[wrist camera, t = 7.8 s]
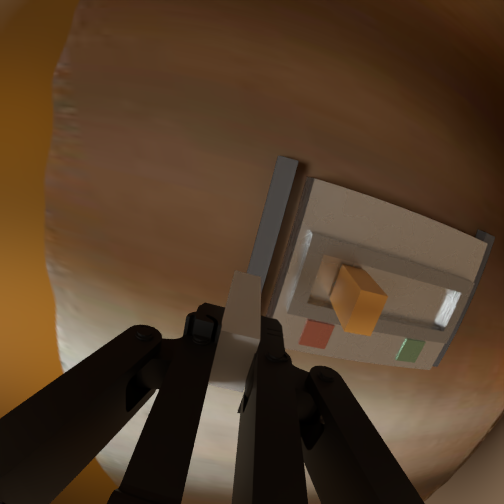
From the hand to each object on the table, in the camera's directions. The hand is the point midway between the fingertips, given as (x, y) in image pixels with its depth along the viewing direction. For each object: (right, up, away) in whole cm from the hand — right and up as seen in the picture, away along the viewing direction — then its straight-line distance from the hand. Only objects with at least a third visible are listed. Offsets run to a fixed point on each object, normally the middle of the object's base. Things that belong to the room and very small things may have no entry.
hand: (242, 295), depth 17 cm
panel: (+12, 0, +10) cm, 16 cm away
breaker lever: (+8, 0, +6) cm, 10 cm away
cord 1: (+2, +3, +10) cm, 10 cm away
